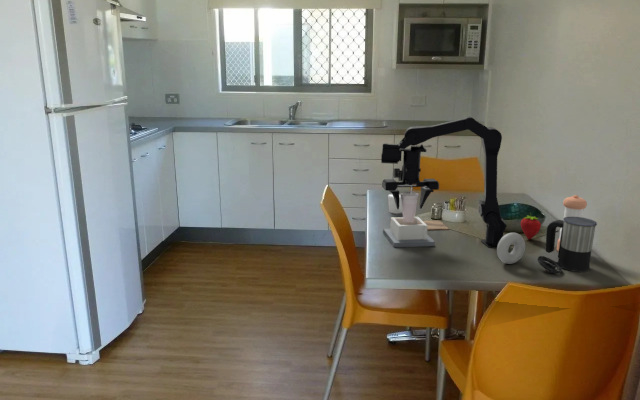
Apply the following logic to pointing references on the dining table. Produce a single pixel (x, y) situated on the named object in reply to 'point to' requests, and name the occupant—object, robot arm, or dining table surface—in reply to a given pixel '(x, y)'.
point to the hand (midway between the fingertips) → (409, 208)
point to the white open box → (408, 233)
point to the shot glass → (392, 204)
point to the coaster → (435, 225)
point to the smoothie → (409, 205)
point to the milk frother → (570, 244)
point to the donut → (505, 244)
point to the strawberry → (530, 226)
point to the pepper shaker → (572, 209)
